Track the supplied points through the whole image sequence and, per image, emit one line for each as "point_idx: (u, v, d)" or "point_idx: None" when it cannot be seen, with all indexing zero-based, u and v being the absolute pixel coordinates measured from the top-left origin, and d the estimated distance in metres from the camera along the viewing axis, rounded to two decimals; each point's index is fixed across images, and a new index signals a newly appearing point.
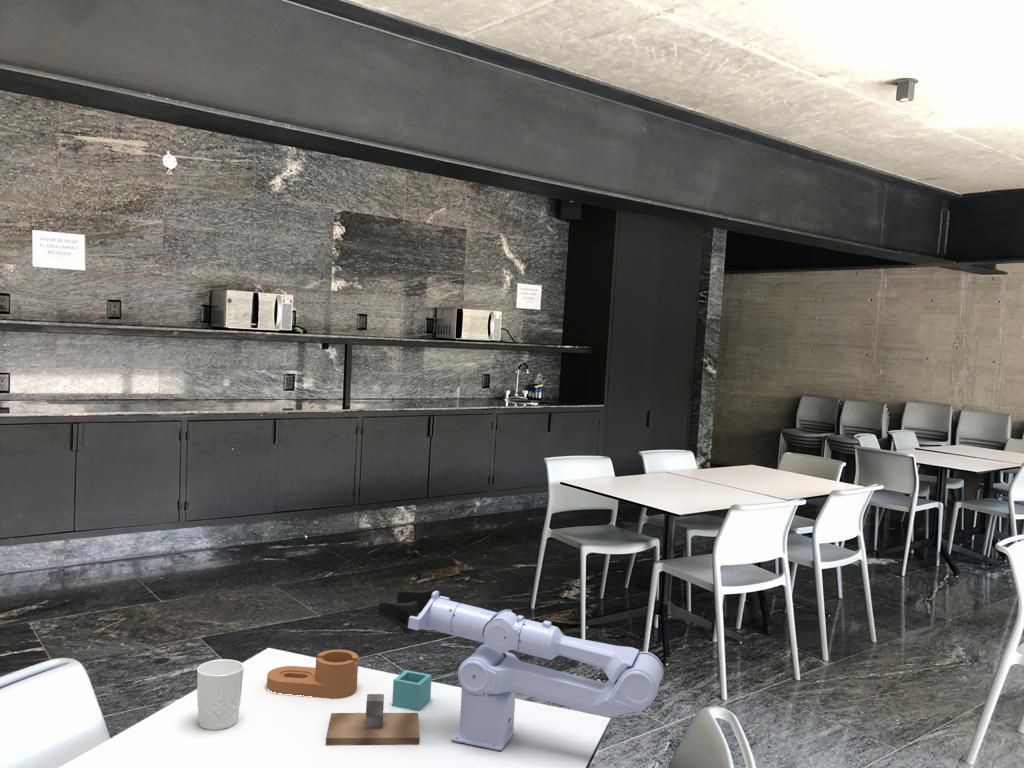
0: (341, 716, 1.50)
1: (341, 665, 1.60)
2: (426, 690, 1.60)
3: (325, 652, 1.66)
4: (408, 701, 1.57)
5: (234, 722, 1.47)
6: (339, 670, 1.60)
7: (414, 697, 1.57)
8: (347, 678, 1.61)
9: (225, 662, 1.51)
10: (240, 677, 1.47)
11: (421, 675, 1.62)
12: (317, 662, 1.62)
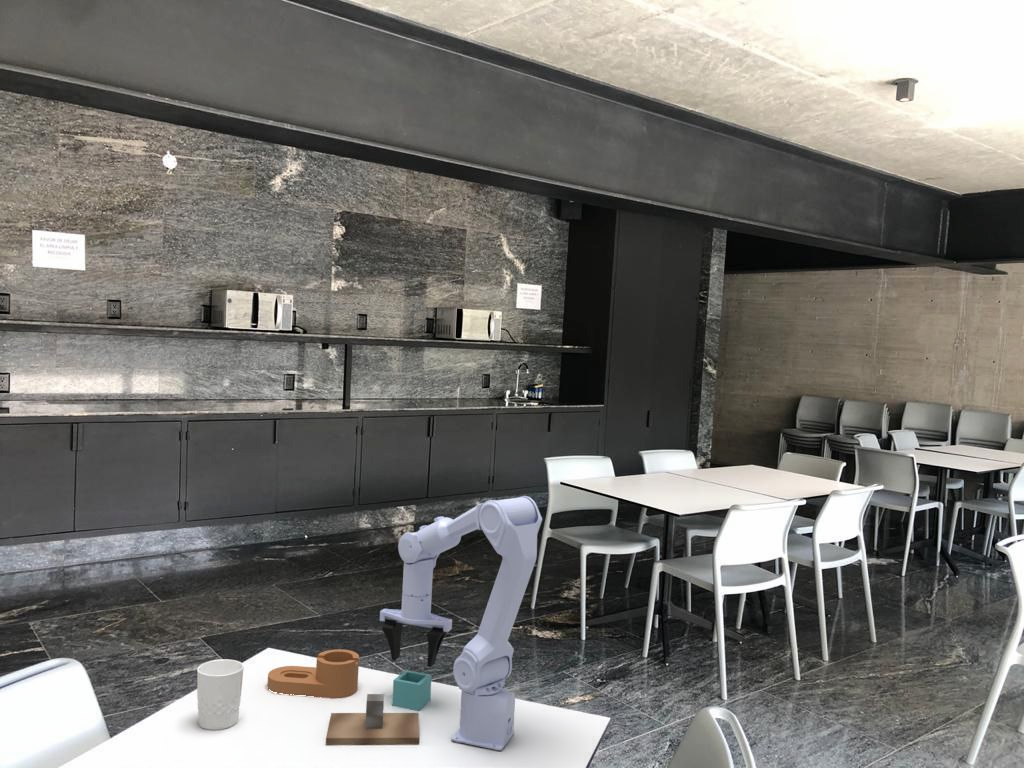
0: (341, 716, 1.50)
1: (342, 665, 1.60)
2: (426, 690, 1.60)
3: (326, 652, 1.66)
4: (408, 701, 1.57)
5: (234, 722, 1.47)
6: (340, 670, 1.60)
7: (414, 697, 1.57)
8: (348, 678, 1.61)
9: (225, 662, 1.51)
10: (240, 677, 1.47)
11: (421, 675, 1.62)
12: (318, 662, 1.62)
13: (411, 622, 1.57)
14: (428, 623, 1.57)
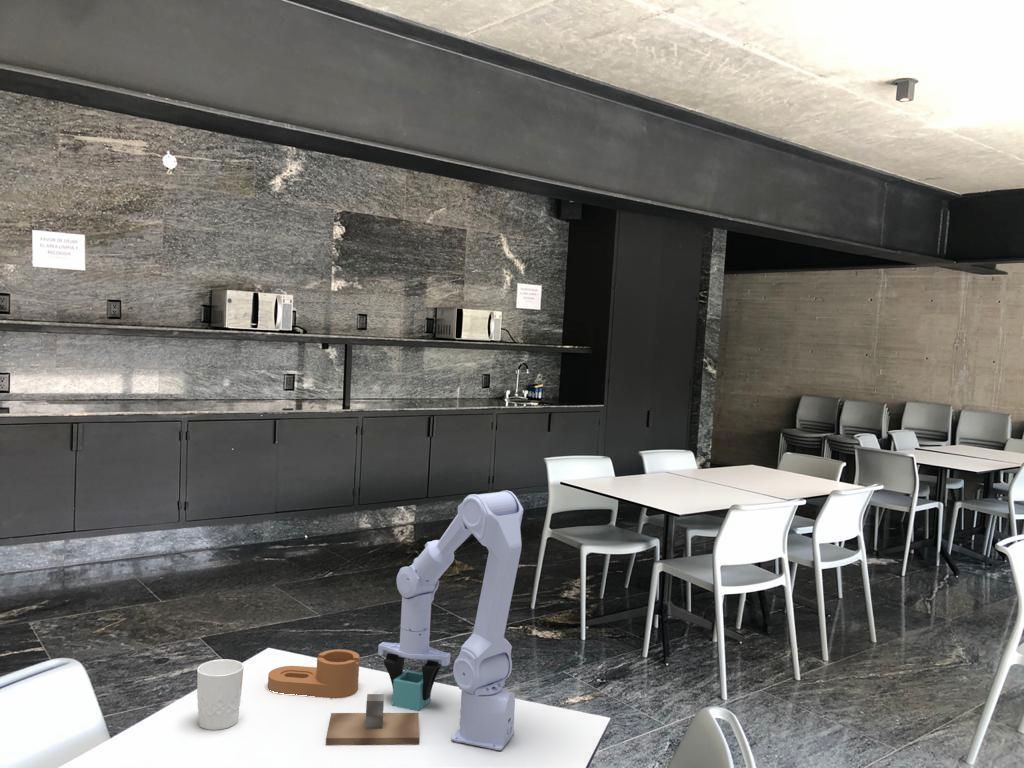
0: (341, 716, 1.50)
1: (342, 665, 1.61)
2: None
3: (326, 652, 1.66)
4: (408, 701, 1.57)
5: (234, 722, 1.47)
6: (340, 670, 1.60)
7: (414, 697, 1.57)
8: (348, 678, 1.61)
9: (225, 662, 1.51)
10: (240, 677, 1.47)
11: (421, 675, 1.62)
12: (319, 662, 1.62)
13: (409, 656, 1.57)
14: (426, 657, 1.57)
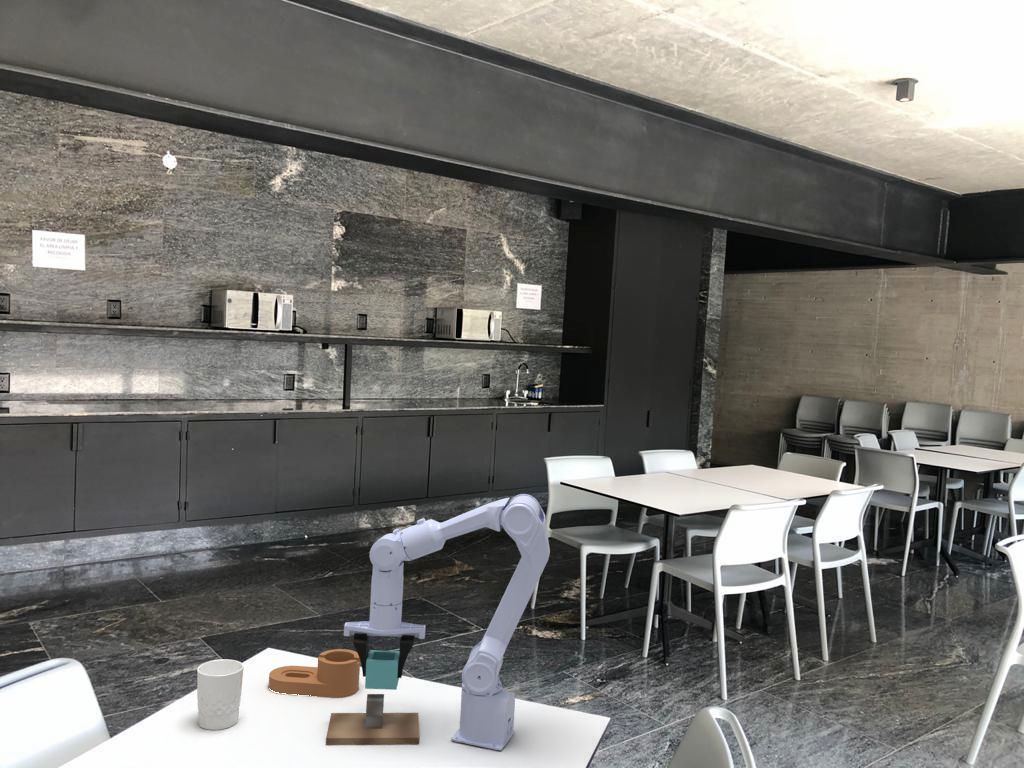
0: (341, 716, 1.50)
1: (343, 665, 1.61)
2: None
3: (327, 651, 1.67)
4: (384, 681, 1.46)
5: (234, 722, 1.47)
6: (341, 670, 1.61)
7: (391, 676, 1.47)
8: (349, 677, 1.62)
9: (225, 662, 1.51)
10: (240, 677, 1.47)
11: (390, 653, 1.51)
12: (320, 662, 1.62)
13: (386, 633, 1.46)
14: (403, 632, 1.47)
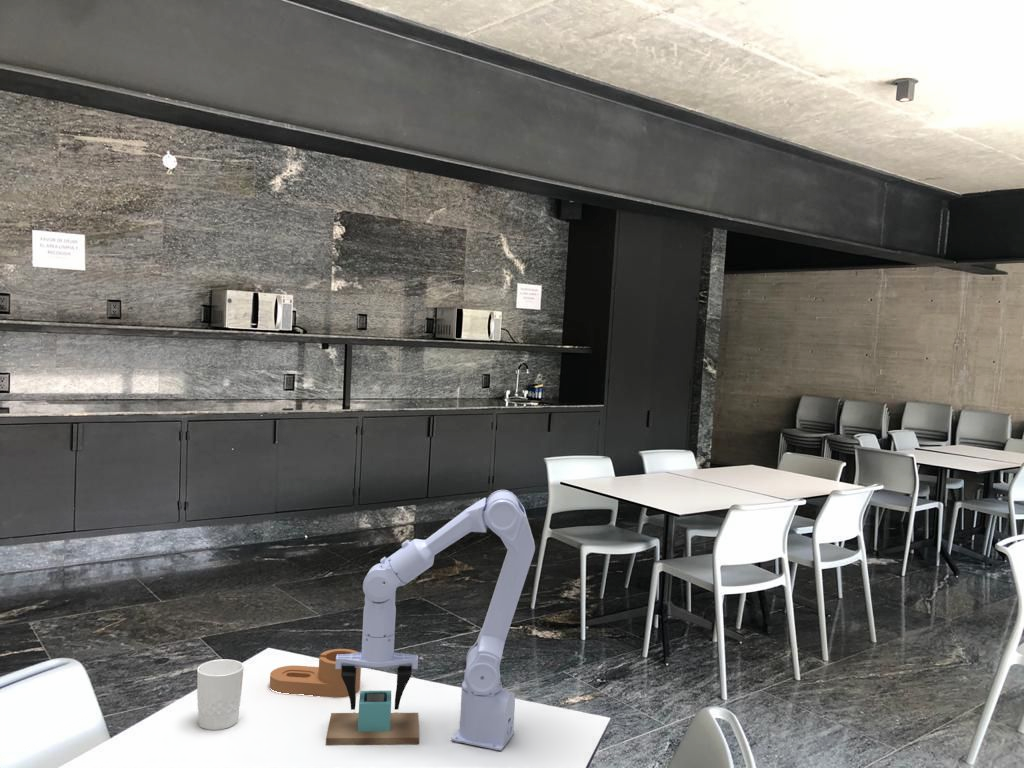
0: (341, 716, 1.50)
1: None
2: None
3: (328, 651, 1.67)
4: (377, 723, 1.45)
5: (234, 722, 1.47)
6: None
7: (384, 717, 1.45)
8: None
9: (225, 662, 1.51)
10: (240, 677, 1.47)
11: (381, 693, 1.49)
12: (321, 661, 1.62)
13: (379, 665, 1.44)
14: (397, 663, 1.45)
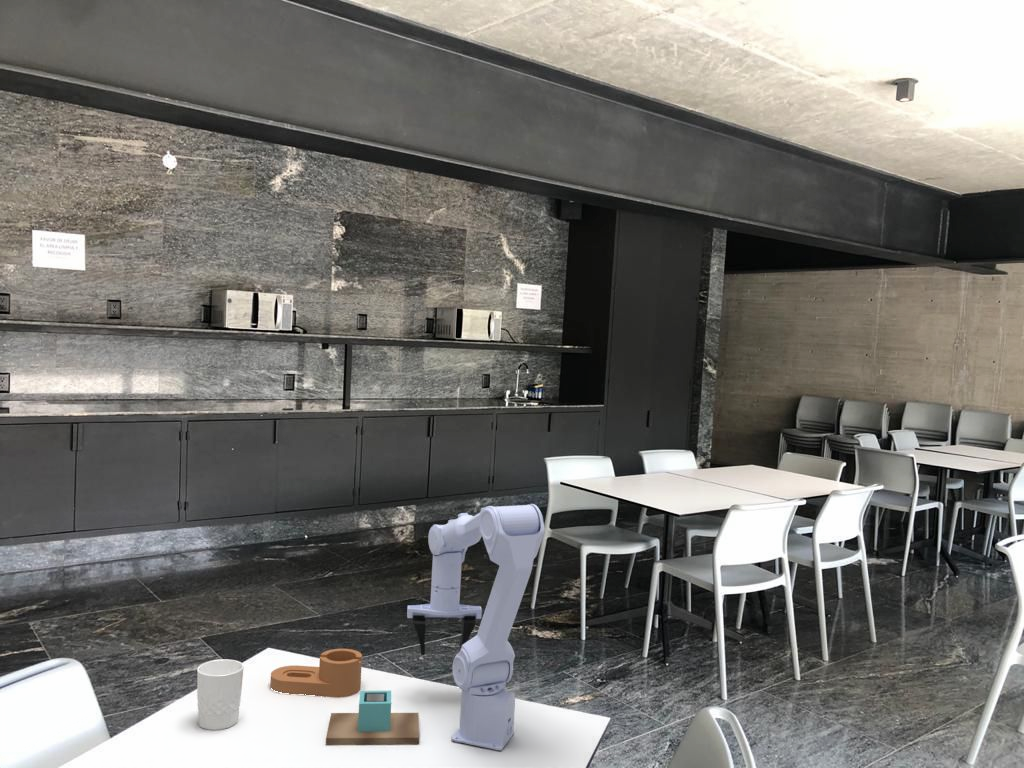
0: (341, 716, 1.50)
1: (345, 664, 1.61)
2: None
3: (329, 651, 1.67)
4: (377, 723, 1.45)
5: (234, 722, 1.47)
6: (343, 669, 1.61)
7: (384, 717, 1.45)
8: (351, 677, 1.62)
9: (225, 662, 1.51)
10: (240, 677, 1.47)
11: (381, 693, 1.49)
12: (321, 661, 1.62)
13: (447, 614, 1.58)
14: (463, 613, 1.60)
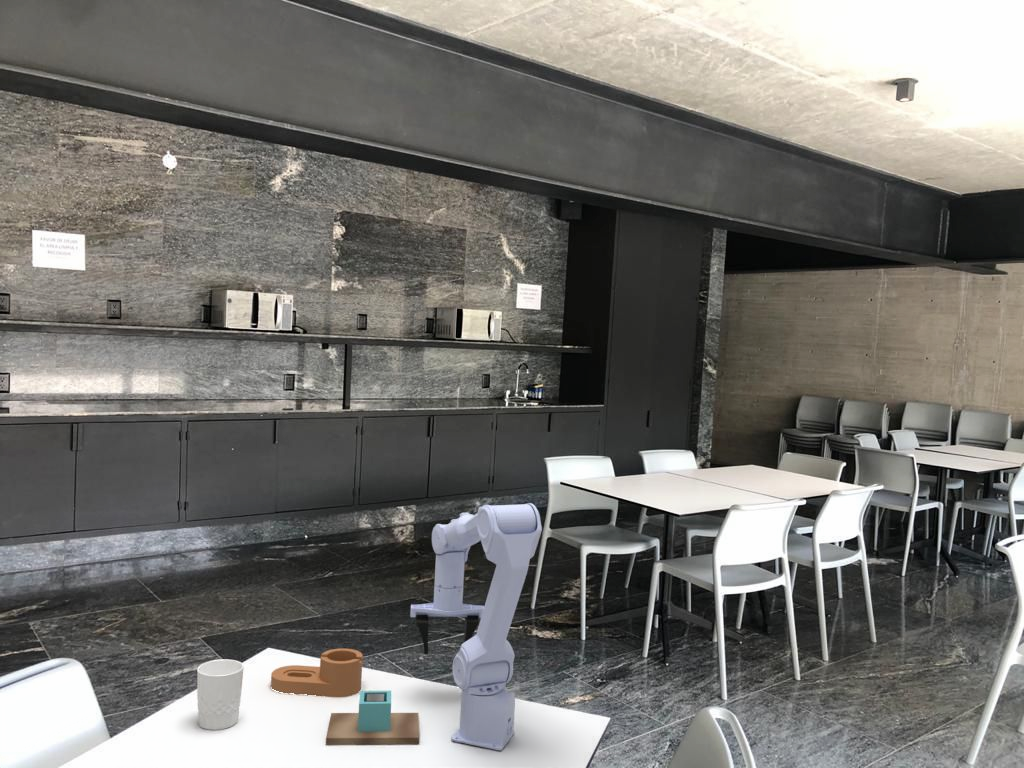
0: (341, 716, 1.50)
1: (346, 664, 1.61)
2: None
3: (329, 651, 1.67)
4: (377, 723, 1.45)
5: (234, 722, 1.47)
6: (344, 669, 1.61)
7: (384, 717, 1.45)
8: (352, 677, 1.62)
9: (225, 662, 1.51)
10: (240, 677, 1.47)
11: (381, 693, 1.49)
12: (322, 661, 1.62)
13: (450, 613, 1.59)
14: (466, 612, 1.61)
